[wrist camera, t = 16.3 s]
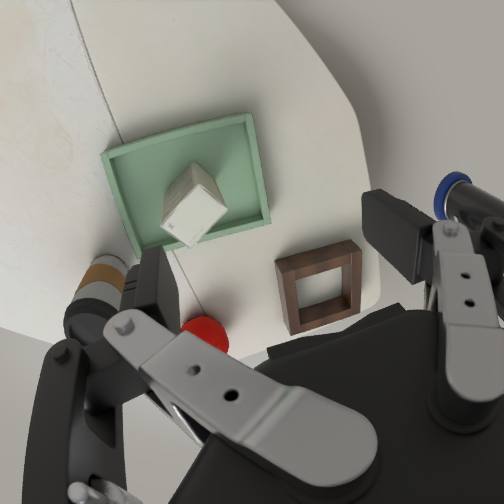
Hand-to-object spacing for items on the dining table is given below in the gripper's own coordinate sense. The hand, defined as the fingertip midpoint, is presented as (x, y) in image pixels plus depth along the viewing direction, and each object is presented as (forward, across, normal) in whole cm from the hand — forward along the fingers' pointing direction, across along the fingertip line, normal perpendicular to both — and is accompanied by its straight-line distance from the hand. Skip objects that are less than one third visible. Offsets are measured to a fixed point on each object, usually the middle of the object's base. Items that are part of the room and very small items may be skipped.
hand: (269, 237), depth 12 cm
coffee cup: (+33, +20, +17) cm, 42 cm away
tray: (+33, +4, +7) cm, 34 cm away
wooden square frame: (+33, -13, +30) cm, 46 cm away
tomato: (+33, +9, +33) cm, 47 cm away
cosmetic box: (+32, +4, +7) cm, 33 cm away
